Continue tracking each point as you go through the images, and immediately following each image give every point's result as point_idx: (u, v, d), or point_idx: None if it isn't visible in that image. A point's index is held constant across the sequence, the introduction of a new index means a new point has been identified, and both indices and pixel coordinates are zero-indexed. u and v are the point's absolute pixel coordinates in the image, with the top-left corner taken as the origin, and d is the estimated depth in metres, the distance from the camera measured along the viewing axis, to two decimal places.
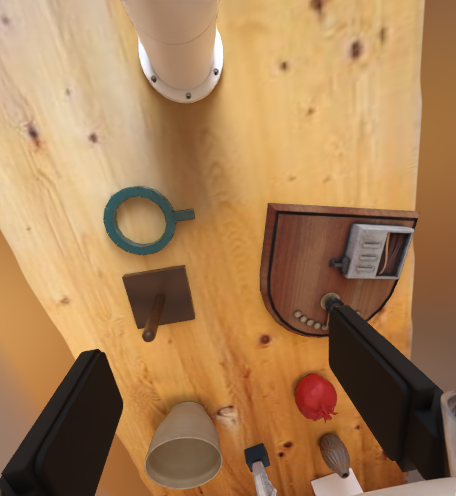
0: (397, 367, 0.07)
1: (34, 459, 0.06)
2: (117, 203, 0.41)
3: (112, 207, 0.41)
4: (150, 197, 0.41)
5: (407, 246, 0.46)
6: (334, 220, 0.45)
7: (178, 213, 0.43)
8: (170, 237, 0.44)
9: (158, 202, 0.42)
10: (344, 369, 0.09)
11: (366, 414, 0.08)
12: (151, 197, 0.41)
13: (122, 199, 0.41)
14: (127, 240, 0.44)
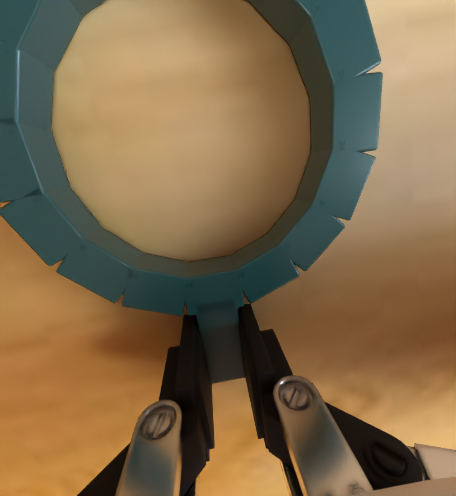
0: (255, 356, 0.08)
1: (193, 382, 0.07)
2: (307, 0, 0.06)
3: None
4: (315, 210, 0.08)
5: None
6: None
7: (234, 327, 0.09)
8: (110, 294, 0.08)
9: (290, 245, 0.09)
10: (243, 361, 0.10)
11: (250, 400, 0.09)
12: (316, 214, 0.08)
13: (327, 43, 0.07)
14: (55, 27, 0.07)
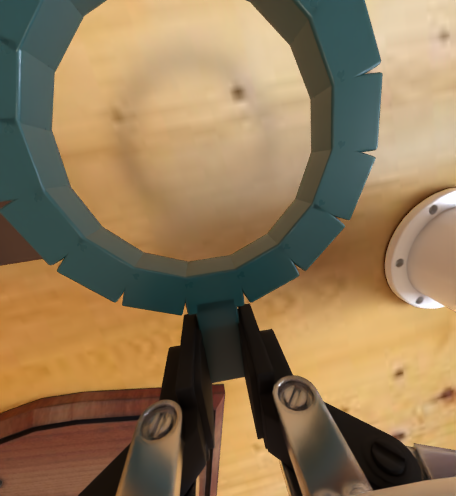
0: (255, 357, 0.08)
1: (193, 382, 0.07)
2: (308, 0, 0.06)
3: None
4: (315, 210, 0.08)
5: None
6: (199, 484, 0.28)
7: (234, 327, 0.09)
8: (110, 293, 0.08)
9: (290, 245, 0.09)
10: None
11: (250, 400, 0.09)
12: (316, 214, 0.08)
13: (327, 43, 0.07)
14: (56, 27, 0.07)
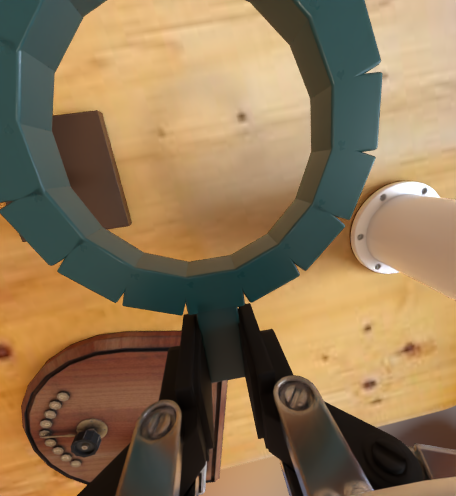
0: (255, 356, 0.08)
1: (193, 382, 0.07)
2: (307, 0, 0.06)
3: None
4: (315, 210, 0.08)
5: None
6: None
7: (234, 327, 0.09)
8: (111, 293, 0.08)
9: (290, 245, 0.09)
10: (243, 361, 0.10)
11: (250, 400, 0.09)
12: (316, 214, 0.08)
13: (327, 43, 0.07)
14: (56, 28, 0.07)
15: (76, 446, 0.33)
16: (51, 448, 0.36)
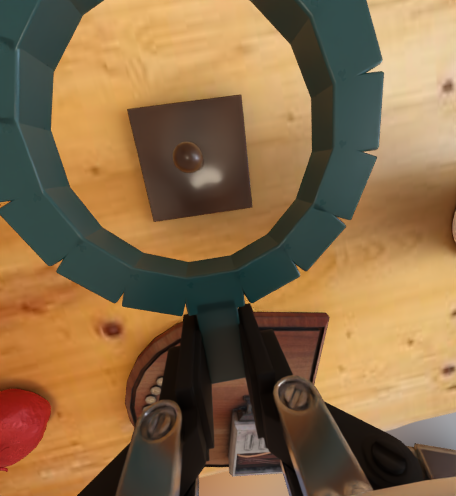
0: (255, 356, 0.08)
1: (193, 382, 0.07)
2: None
3: None
4: (316, 210, 0.08)
5: (273, 471, 0.39)
6: None
7: (234, 327, 0.09)
8: (110, 294, 0.08)
9: (290, 245, 0.08)
10: (243, 361, 0.10)
11: (250, 400, 0.09)
12: (317, 214, 0.08)
13: (328, 42, 0.07)
14: (55, 26, 0.07)
15: None
16: None
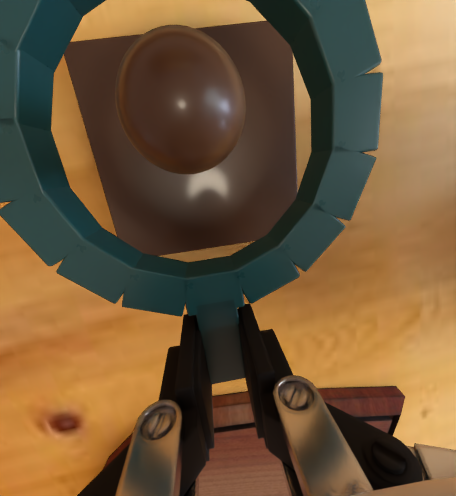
0: (255, 356, 0.08)
1: (193, 382, 0.07)
2: (308, 0, 0.06)
3: None
4: (315, 211, 0.08)
5: None
6: None
7: (234, 328, 0.09)
8: (110, 294, 0.08)
9: (290, 246, 0.09)
10: (243, 361, 0.10)
11: (250, 400, 0.09)
12: (317, 214, 0.08)
13: (327, 43, 0.07)
14: (55, 27, 0.07)
15: None
16: None
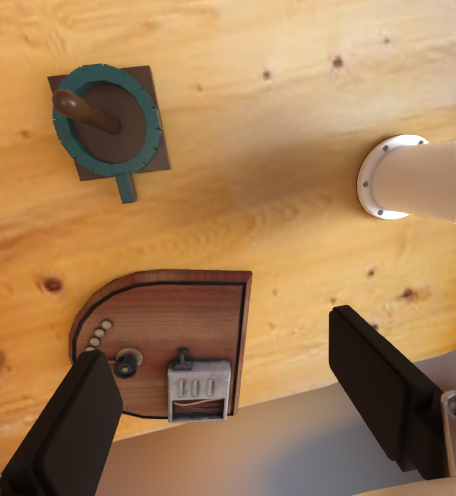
0: (397, 367, 0.07)
1: (34, 459, 0.06)
2: (132, 92, 0.28)
3: (126, 83, 0.28)
4: (145, 144, 0.30)
5: (208, 419, 0.43)
6: (233, 342, 0.42)
7: (127, 182, 0.31)
8: (89, 168, 0.30)
9: (140, 155, 0.30)
10: (344, 369, 0.09)
11: (366, 414, 0.08)
12: (146, 145, 0.30)
13: (139, 101, 0.28)
14: None
15: (117, 369, 0.38)
16: None
